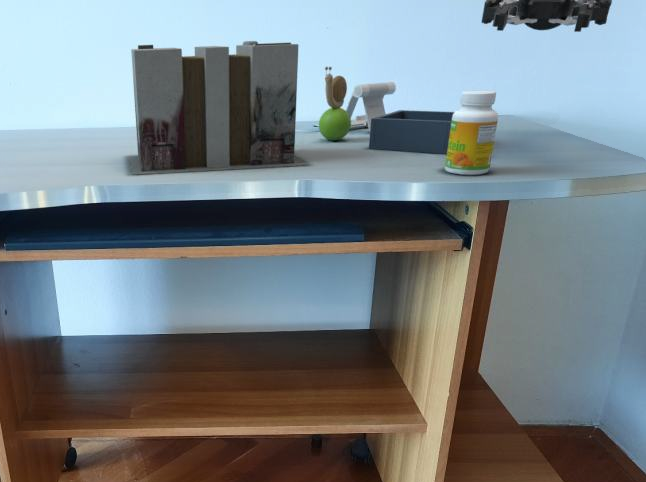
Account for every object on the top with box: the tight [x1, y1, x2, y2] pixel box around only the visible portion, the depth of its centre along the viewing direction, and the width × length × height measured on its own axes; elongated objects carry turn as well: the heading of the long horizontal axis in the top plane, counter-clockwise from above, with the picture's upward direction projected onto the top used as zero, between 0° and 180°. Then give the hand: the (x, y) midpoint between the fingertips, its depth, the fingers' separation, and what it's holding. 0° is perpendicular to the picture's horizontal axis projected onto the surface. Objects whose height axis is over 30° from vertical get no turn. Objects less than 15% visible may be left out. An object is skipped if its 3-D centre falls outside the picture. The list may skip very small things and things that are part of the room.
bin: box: [368, 109, 456, 155], centre depth 102 cm, size 13×13×5 cm
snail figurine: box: [318, 66, 352, 142], centre depth 108 cm, size 5×6×12 cm
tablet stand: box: [344, 81, 397, 133], centre depth 119 cm, size 9×8×8 cm
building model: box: [129, 40, 307, 176], centre depth 94 cm, size 16×25×16 cm, turn 96°
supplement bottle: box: [444, 90, 499, 176], centre depth 81 cm, size 5×5×10 cm
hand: (539, 22), depth 77 cm, fingers open, 8 cm apart
